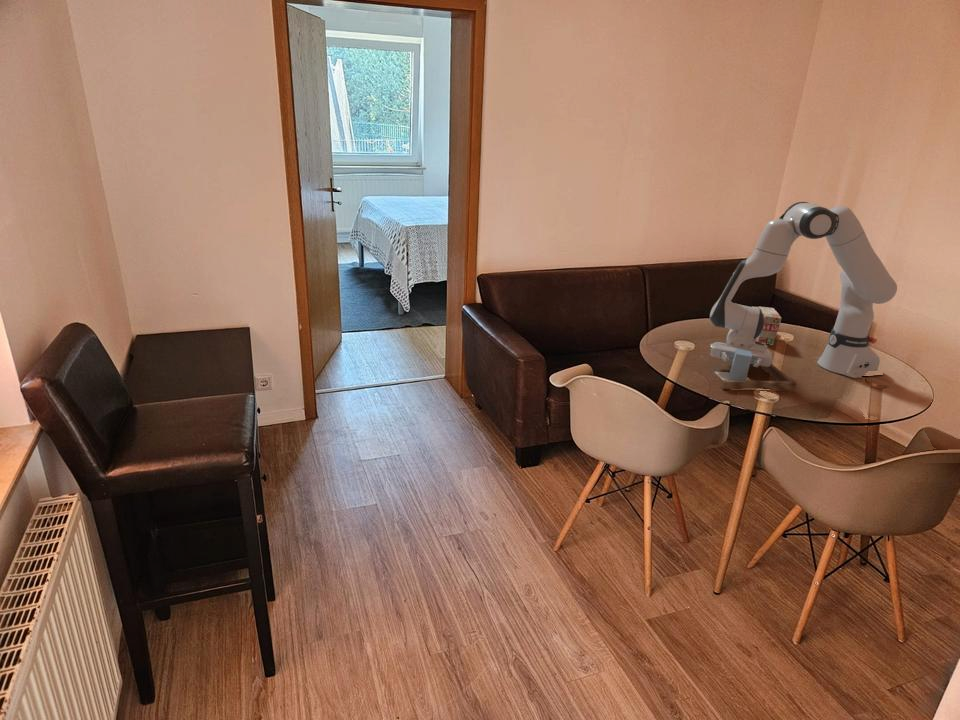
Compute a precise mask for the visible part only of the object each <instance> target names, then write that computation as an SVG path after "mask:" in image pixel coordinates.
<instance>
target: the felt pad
mask: <svg viewBox="0 0 960 720" xmlns="http://www.w3.org/2000/svg"><path fill="white" fill-rule="evenodd" d="M714 374H716V376H717V377H718V378H720V379H721V380H722V381H723V380H729V374H730V371H714Z"/></svg>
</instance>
